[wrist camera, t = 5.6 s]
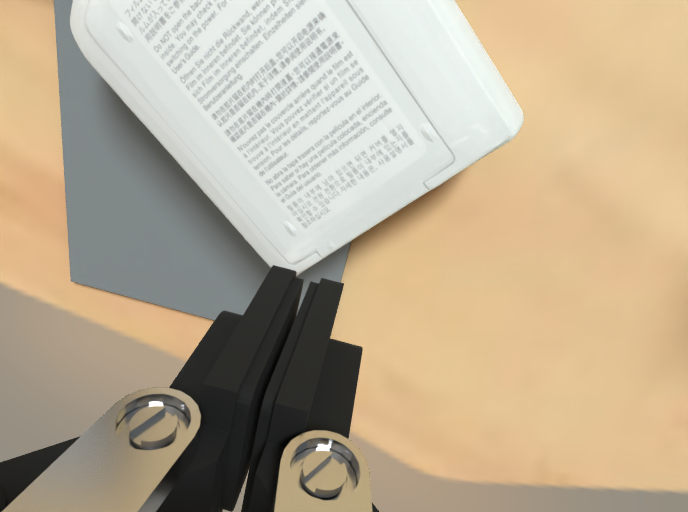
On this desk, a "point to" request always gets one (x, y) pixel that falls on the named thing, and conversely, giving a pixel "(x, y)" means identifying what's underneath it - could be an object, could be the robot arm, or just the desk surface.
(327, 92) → the photo printer
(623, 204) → the desk surface
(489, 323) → the desk surface
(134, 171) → the felt mat
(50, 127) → the desk surface
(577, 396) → the desk surface
